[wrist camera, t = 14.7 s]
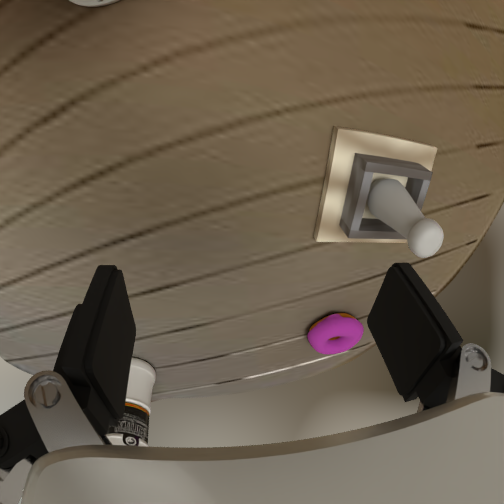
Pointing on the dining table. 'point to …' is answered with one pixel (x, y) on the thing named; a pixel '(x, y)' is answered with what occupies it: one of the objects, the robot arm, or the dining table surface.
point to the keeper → (368, 183)
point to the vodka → (135, 407)
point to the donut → (335, 333)
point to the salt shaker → (404, 216)
